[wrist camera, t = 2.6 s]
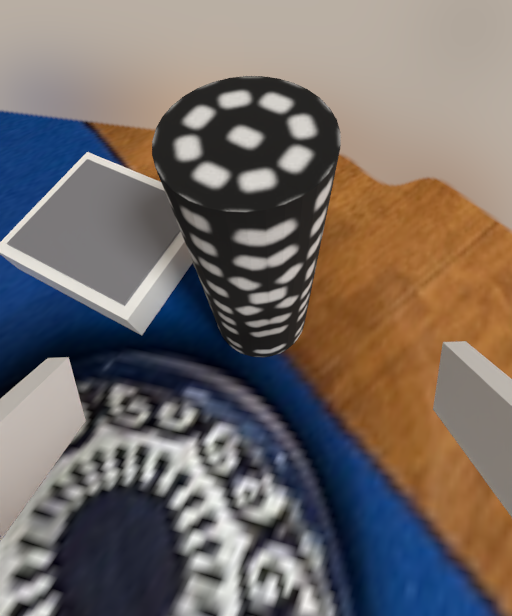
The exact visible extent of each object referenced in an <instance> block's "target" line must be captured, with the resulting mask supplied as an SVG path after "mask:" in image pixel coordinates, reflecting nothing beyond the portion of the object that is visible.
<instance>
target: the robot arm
mask: <svg viewBox="0 0 512 616" xmlns="http://www.w3.org/2000/svg"><path fill="white" fill-rule="evenodd" d="M433 410H434V411H435V412H436V414H437V415H438V416H439V418H440V419H441V421H442V422H443V423H444V425H445V426H446V427H447V429H448V430H449V432H450V433H451V434H452V436H453V437H454V438H455V440H456V441H457V443H458V444H459V445H460V447H461V448H462V449H463V451H464V452H465V454H466V455H467V456H468V458H469V459H470V460H471V462H472V463H473V465H474V466H475V467H476V469H477V470H478V471H479V473H480V474H481V476H482V477H483V478H484V480H485V481H486V482H487V484H488V485H489V487H490V488H491V489H492V491H493V492H494V493H495V495H496V496H497V497H498V499H499V500H500V502H501V503H502V504H503V506H504V507H505V508H506V510H507V511H508V513H509V514H510V515H511V517H512V379H511V378H510V377H508V376H507V375H506V374H505V373H503V372H502V371H501V370H500V369H499V368H497V367H496V366H495V365H494V364H493V363H491V362H490V361H489V360H488V359H486V358H485V357H484V356H483V355H482V354H480V353H479V352H478V351H477V350H476V349H474V348H473V347H472V346H471V345H469V344H468V343H467V342H466V341H463V342H443V346H442V353H441V360H440V366H439V373H438V380H437V387H436V394H435V401H434V408H433ZM85 421H86V420H85V417H84V413H83V409H82V405H81V402H80V398H79V394H78V390H77V387H76V383H75V379H74V375H73V372H72V368H71V364H70V360H69V357H62V358H47V359H46V360H45V361H44V362H42V363H41V364H40V365H39V366H38V367H37V368H35V369H34V370H33V371H32V372H31V373H30V374H29V375H27V376H26V377H25V378H24V379H23V380H22V381H20V382H19V383H18V384H17V385H16V386H15V387H13V388H12V389H11V390H10V391H9V392H8V393H6V394H5V395H4V396H3V397H2V398H1V399H0V541H1V539H2V538H3V537H4V535H5V534H6V532H7V531H8V530H9V528H10V527H11V525H12V524H13V523H14V521H15V520H16V518H17V517H18V516H19V514H20V513H21V511H22V510H23V508H24V507H25V506H26V504H27V503H28V501H29V500H30V499H31V497H32V496H33V494H34V493H35V492H36V490H37V489H38V487H39V486H40V485H41V483H42V482H43V480H44V479H45V478H46V476H47V475H48V473H49V472H50V470H51V469H52V468H53V466H54V465H55V463H56V462H57V461H58V459H59V458H60V456H61V455H62V454H63V452H64V451H65V449H66V448H67V447H68V445H69V444H70V442H71V441H72V440H73V438H74V437H75V435H76V434H77V432H78V431H79V430H80V428H81V427H82V425H83V424H84V423H85Z"/></svg>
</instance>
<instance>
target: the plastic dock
mask: <svg viewBox="0 0 512 616" xmlns="http://www.w3.org/2000/svg"><path fill="white" fill-rule="evenodd" d="M0 255H2V256H3V257H4V258H6V259H7V260H8V261H9V262H11V263H12V264H13V265H14V266H16V267H17V268H18V269H20V270H22V271H24V272H25V273H27V274H29V275H31V276H33V277H35V278H36V279H38V280H40V281H42V282H44V283H46V284H48V285H49V286H51V287H53V288H55V289H57V290H59V291H61V292H62V293H64V294H66V295H68V296H70V297H72V298H73V299H75V300H77V301H79V302H81V303H83V304H85V305H86V306H88V307H90V308H92V309H94V310H96V311H98V312H99V313H101V314H103V315H105V316H107V317H109V318H110V319H112V320H114V321H116V322H118V323H120V324H122V325H123V326H125V327H127V328H129V329H131V330H133V331H135V332H136V333H138V334H140V335H143V333H144V332H145V330H146V329H147V327H148V326H149V324H150V323H151V322H152V320H153V319H154V317H155V316H156V314H157V313H158V312H159V310H160V309H161V307H162V306H163V304H164V303H165V302H166V300H167V299H168V297H169V296H170V294H171V293H172V292H173V290H174V289H175V287H176V286H177V284H178V283H179V282H180V280H181V279H182V277H183V276H184V274H185V273H186V271H187V270H188V269H189V267H190V266H191V264H192V263H193V261H192V259H191V256H190V254H189V251H188V249H187V246H186V243H185V241H184V238H183V236H182V233H181V231H180V228H179V226H178V223H177V221H176V218H175V216H174V213H173V210H172V208H171V205H170V203H169V200H168V198H167V195H166V193H165V190H164V188H163V185H162V183H161V182H159V181H157V180H154V179H152V178H150V177H147V176H145V175H142V174H140V173H137V172H135V171H132V170H130V169H128V168H125V167H123V166H120V165H118V164H115V163H113V162H111V161H108V160H106V159H103V158H101V157H98V156H96V155H93V154H91V153H89V152H87V153H86V154H85V155H84V156H83V157H82V158H81V159H80V160H79V161H78V162H77V163H76V164H75V165H74V166H73V167H72V168H71V169H70V170H69V171H68V172H67V174H66V175H65V176H64V177H63V178H62V179H61V180H60V181H59V182H58V183H57V184H56V185H55V186H54V187H53V188H52V189H51V190H50V191H49V192H48V193H47V194H46V195H45V196H44V197H43V198H42V199H41V201H40V202H39V203H38V204H37V205H36V206H35V207H34V208H33V209H32V210H31V211H30V212H29V213H28V214H27V215H26V216H25V217H24V218H23V219H22V220H21V221H20V222H19V223H18V224H17V225H16V226H15V228H14V229H13V230H12V231H11V232H10V233H9V234H8V235H7V236H6V237H5V238H4V239H3V240H2V241H1V242H0Z"/></svg>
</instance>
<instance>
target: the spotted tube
mask: <svg viewBox="0 0 512 616" xmlns="http://www.w3.org/2000/svg"><path fill="white" fill-rule="evenodd" d="M339 151H340V130H339V126H338V123H337V120H336V118H335V117H334V114H333V113H332V111H331V109H330V108H329V107H328V106H327V105H326V104H325V103H324V102H323V101H322V100H321V99H320V98H319V97H318V96H316V95H315V94H313V93H312V92H310V91H309V90H308V89H305V88H303V87H301V86H299V85H297V84H295V83H292V82H288V81H284V80H281V79H277V78H270V77H262V76H258V77H257V76H244V77H236V78H228V79H224V80H220V81H216V82H212V83H210V84H207V85H205V86H202V87H200V88H197V89H196V90H194V91H192V92H190V93H189V94H187V95H185V96H184V97H182V98H181V99H180V100H179V101H177V102H176V103H175V104H174V105H172V106H171V108H170V109H169V110H168V111H167V112H166V113H165V115H164V116H163V117H162V119H161V121H160V122H159V124H158V126H157V128H156V131H155V134H154V138H153V141H152V156H153V159H154V163H155V167H156V170H157V172H158V175H159V177H160V180H161V183H162V185H163V188H164V190H165V193H166V195H167V198H168V200H169V203H170V205H171V208H172V210H173V213H174V216H175V218H176V221H177V223H178V226H179V228H180V231H181V233H182V236H183V238H184V241H185V243H186V246H187V249H188V251H189V254H190V256H191V259H192V261H193V264H194V266H195V269H196V271H197V274H198V276H199V279H200V282H201V284H202V287H203V289H204V292H205V294H206V297H207V299H208V302H209V304H210V307H211V309H212V312H213V315H214V317H215V320H216V322H217V325H218V327H219V330H220V332H221V334H222V336H223V338H224V339H225V340H226V342H227V343H228V344H229V345H230V346H231V347H233V348H234V349H235V350H237V351H239V352H241V353H243V354H245V355H249V356H252V357H268V356H273V355H276V354H279V353H281V352H283V351H285V350H286V349H288V348H289V347H290V346H291V345H293V344H294V343H295V341H296V340H297V339H298V337H299V336H300V334H301V332H302V330H303V326H304V322H305V318H306V313H307V308H308V303H309V298H310V293H311V288H312V283H313V278H314V273H315V269H316V264H317V259H318V254H319V249H320V244H321V239H322V234H323V229H324V224H325V220H326V215H327V210H328V205H329V200H330V195H331V190H332V185H333V180H334V175H335V170H336V166H337V161H338V156H339Z"/></svg>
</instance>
